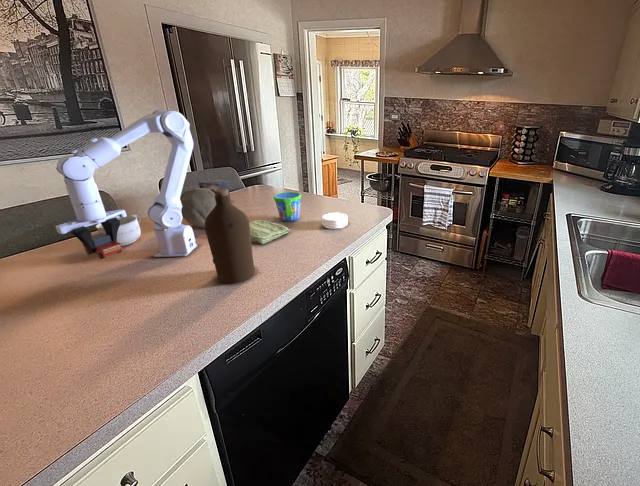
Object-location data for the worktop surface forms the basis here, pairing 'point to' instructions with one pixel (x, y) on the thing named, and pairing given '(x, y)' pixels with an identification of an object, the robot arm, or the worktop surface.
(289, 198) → the snack cup
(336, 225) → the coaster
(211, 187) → the small box
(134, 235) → the teacup
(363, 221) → the worktop surface
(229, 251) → the olive oil
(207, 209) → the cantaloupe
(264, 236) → the washcloth
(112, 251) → the toy car
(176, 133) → the robot arm
